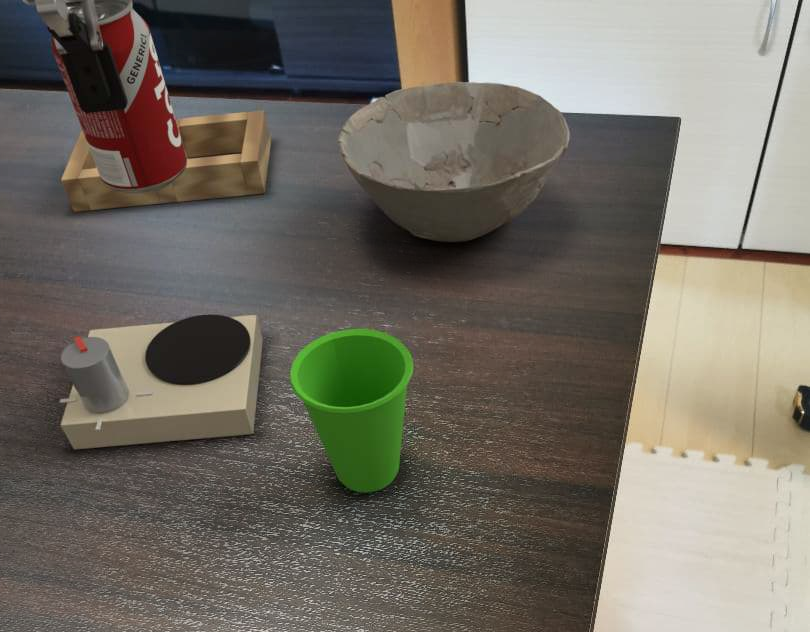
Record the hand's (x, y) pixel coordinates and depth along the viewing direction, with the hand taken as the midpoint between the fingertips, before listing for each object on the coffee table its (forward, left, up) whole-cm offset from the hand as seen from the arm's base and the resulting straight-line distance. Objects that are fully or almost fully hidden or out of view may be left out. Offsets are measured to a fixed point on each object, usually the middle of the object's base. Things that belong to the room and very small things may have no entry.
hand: (114, 82), depth 60 cm
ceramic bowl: (+25, +20, -26) cm, 41 cm away
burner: (0, -2, -22) cm, 22 cm away
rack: (-8, +36, -25) cm, 44 cm away
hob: (-3, -4, -25) cm, 26 cm away
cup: (+15, -16, -26) cm, 34 cm away
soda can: (0, 0, -7) cm, 7 cm away
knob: (-7, -8, -22) cm, 25 cm away
